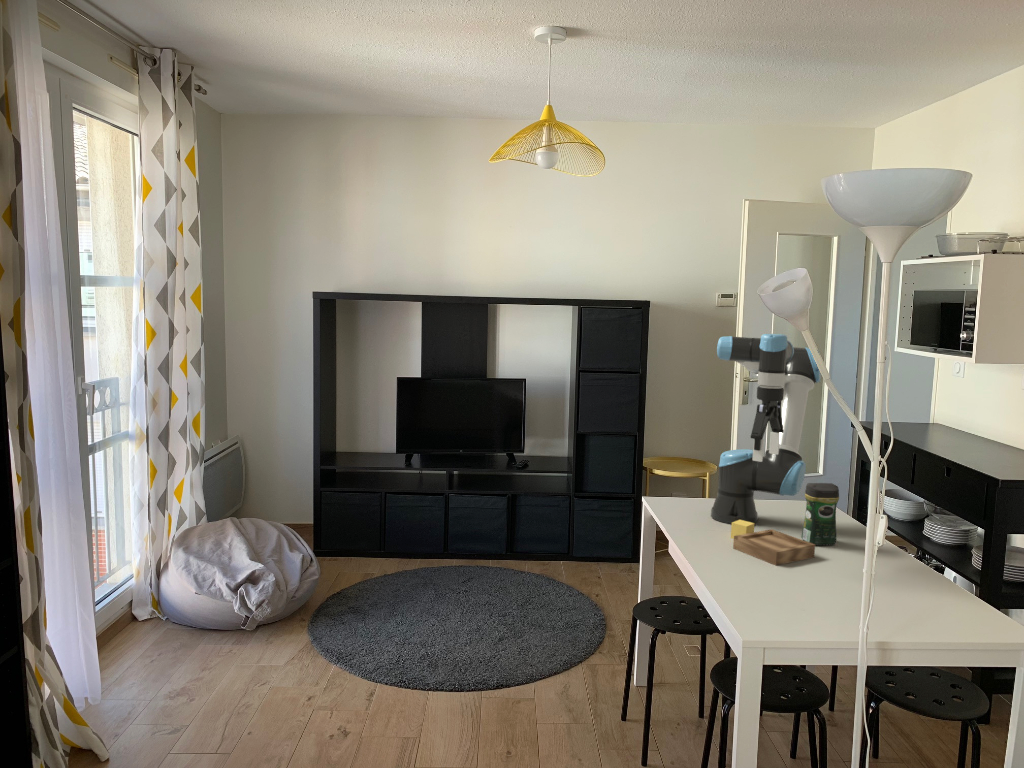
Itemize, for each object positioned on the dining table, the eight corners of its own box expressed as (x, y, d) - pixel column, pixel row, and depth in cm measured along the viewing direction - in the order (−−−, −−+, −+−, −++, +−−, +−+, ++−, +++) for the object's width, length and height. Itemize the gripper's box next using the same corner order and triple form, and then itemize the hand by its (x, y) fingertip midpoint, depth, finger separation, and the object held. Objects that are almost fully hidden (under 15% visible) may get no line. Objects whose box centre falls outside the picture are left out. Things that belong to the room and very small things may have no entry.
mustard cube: (738, 535, 248) (739, 519, 247) (753, 539, 244) (754, 523, 244) (730, 538, 244) (731, 522, 243) (745, 542, 241) (746, 526, 240)
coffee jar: (827, 538, 247) (832, 480, 245) (839, 546, 239) (844, 486, 237) (797, 538, 246) (802, 479, 244) (808, 546, 238) (813, 486, 236)
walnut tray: (770, 541, 242) (771, 529, 242) (814, 557, 228) (815, 544, 228) (733, 548, 234) (734, 535, 233) (775, 565, 220) (776, 552, 220)
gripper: (772, 381, 244) (768, 449, 247) (742, 389, 225) (737, 462, 227) (797, 384, 240) (792, 452, 242) (768, 391, 220) (763, 466, 223)
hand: (765, 457), depth 235 cm, fingers open, 13 cm apart
